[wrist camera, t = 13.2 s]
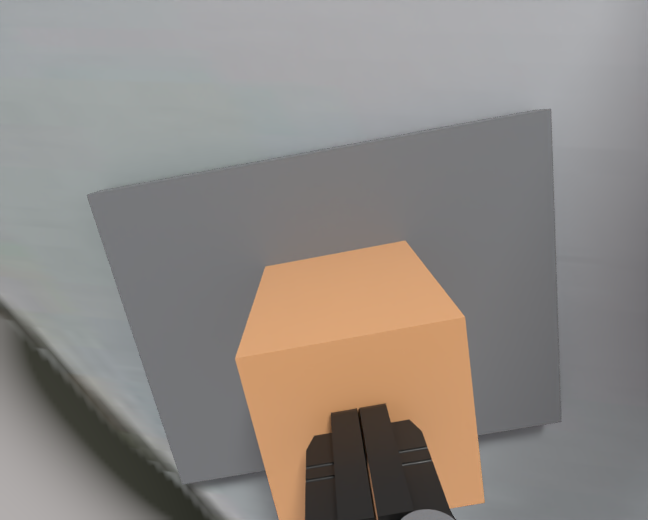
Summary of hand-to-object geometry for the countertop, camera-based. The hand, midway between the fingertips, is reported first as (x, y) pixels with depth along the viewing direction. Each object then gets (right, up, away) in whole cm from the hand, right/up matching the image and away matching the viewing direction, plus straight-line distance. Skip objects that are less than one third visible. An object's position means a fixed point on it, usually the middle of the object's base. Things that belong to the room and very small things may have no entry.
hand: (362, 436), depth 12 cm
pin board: (0, +3, +8) cm, 9 cm away
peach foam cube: (0, +2, +7) cm, 8 cm away
